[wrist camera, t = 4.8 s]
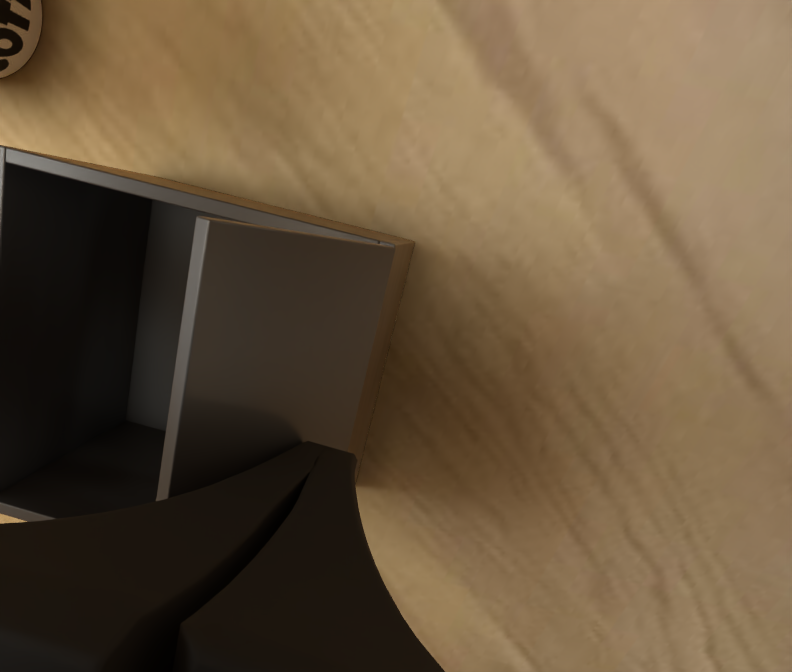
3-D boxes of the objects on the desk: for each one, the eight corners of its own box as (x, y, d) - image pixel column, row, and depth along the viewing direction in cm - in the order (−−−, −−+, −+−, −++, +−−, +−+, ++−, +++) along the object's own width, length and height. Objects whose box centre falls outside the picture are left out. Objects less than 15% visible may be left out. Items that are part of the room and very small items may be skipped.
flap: (195, 215, 7) (209, 219, 7) (385, 245, 11) (396, 248, 11) (115, 780, 9) (124, 792, 9) (299, 617, 14) (307, 623, 14)
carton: (152, 175, 19) (-10, 143, 12) (415, 241, 19) (396, 244, 12) (122, 422, 22) (-26, 506, 15) (355, 487, 21) (310, 605, 14)
